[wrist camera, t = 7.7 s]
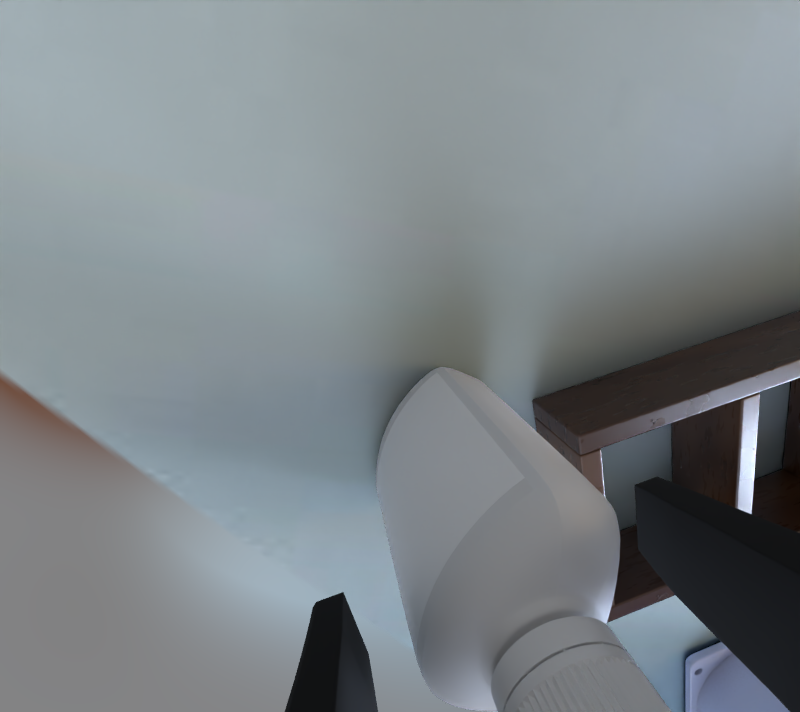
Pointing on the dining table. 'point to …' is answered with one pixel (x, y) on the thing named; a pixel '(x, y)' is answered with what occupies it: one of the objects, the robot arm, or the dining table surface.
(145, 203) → the dining table surface
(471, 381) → the eye dropper bottle
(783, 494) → the spice rack
